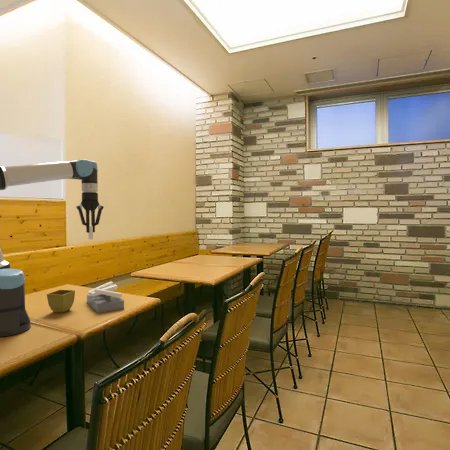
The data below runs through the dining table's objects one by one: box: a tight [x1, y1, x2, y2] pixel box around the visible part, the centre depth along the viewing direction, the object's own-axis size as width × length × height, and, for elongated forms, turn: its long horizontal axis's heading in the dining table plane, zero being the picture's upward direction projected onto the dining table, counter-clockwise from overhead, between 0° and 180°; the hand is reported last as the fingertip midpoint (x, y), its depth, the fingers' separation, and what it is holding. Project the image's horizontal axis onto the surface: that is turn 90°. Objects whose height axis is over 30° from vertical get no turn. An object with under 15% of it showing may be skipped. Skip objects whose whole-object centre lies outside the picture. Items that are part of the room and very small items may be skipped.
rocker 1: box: [87, 281, 115, 295], centre depth 168 cm, size 12×3×2 cm, turn 124°
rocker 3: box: [94, 287, 123, 298], centre depth 158 cm, size 12×3×2 cm, turn 124°
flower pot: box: [46, 289, 76, 314], centre depth 154 cm, size 9×9×9 cm
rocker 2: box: [91, 283, 119, 297], centre depth 163 cm, size 12×3×2 cm, turn 124°
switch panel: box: [86, 293, 125, 314], centre depth 163 cm, size 12×22×6 cm, turn 34°
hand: (90, 239), depth 167 cm, fingers closed
